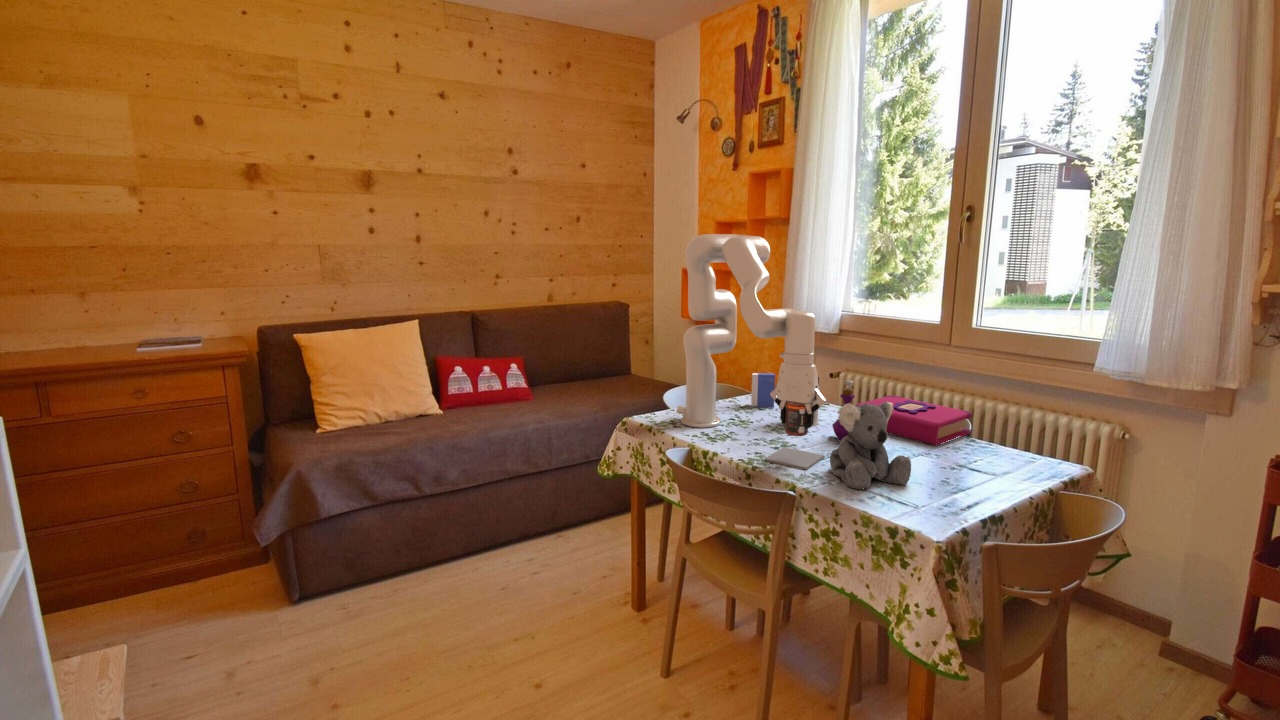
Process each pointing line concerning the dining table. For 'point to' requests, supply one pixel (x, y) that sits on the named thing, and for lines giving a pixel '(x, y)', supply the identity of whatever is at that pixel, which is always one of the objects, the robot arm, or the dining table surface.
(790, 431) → the supplement bottle
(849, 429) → the koala plush
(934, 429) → the book
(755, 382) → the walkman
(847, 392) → the perfume bottle
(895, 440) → the dining table surface
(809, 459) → the grey mat
